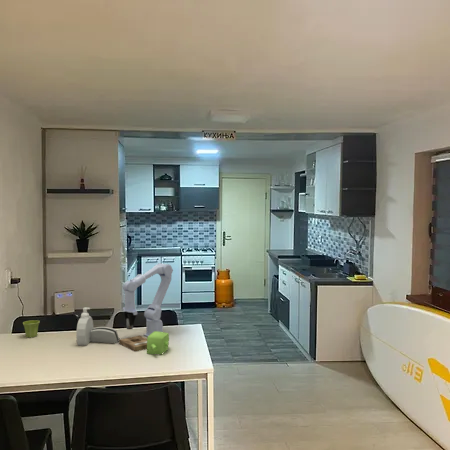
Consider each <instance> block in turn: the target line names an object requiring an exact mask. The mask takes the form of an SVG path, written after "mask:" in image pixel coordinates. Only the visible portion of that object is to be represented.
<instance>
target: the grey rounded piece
mask: <svg viewBox="0 0 450 450" xmlns="http://www.w3.org/2000/svg"><path fill="white" fill-rule="evenodd" d="M90 340H91V341H90V342H92V343H106V344H108V343H109V344H118V343H119V340H120V337H119V334H118V332H117V329H115V328H113V327H108V326H97V327H93V329H92V330H91V332H90Z"/></svg>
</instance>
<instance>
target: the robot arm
mask: <svg viewBox="0 0 450 450" xmlns="http://www.w3.org/2000/svg"><path fill="white" fill-rule="evenodd" d="M173 271H174V270H173V267H172V265H171V264H168V263H167V264H166V263H162V262H159V263H157V264H155V265H154V266H153V267H151V268H150V269H149V270H147V271H145V272H144V274H142V273H140V274H139V273H138V274H137V275H136V276H135V277H133V278H131V279H130V280H126V281H125V282H124V283H123V286H122V289H123V291H124V306H123V307H122V315H123V318H124V321H125V324H126V325H127V318H129V325H130V326H133V327H134V325H135V321H136V318H137V316H138V311H137V309H136V302H135V301H136V296H135V295H136V291H137V288H138V287H140V286H141V285H143V284H145V283H146V280H147V279H148V280H149V279H150V278H151V277H153V276H155V275H156V274H158V275H159V277H160V279H161V281H160V284H159V286H158V288H157V290H156V293H155V295H154V297H153V300H152V302H151V304H149V305H148V306H147V307H146V309H145V310H144V313H143V317H144V318H145V321H146V324H145V325H146V332H145V333H143V335H144V336H145V337H146V336H147V337H148V336H149V335H150V334H151V333H153V332H154V331H158V332H164V327H163V326H164V324H163V321H162V320H161V317H162V308H161V306H162V303H163V301H164V299H165V296H166V293H167V291H168V289H169V286H170V285H171V281H172V274H173Z"/></svg>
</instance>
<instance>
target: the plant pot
mask: <svg viewBox="0 0 450 450" xmlns="http://www.w3.org/2000/svg"><path fill="white" fill-rule="evenodd" d="M40 321H41V320H26V321H23V322H22V324H23V327H24V332H25V338H31V339H32V338H35V337H37V336H38V331H39V325H40Z"/></svg>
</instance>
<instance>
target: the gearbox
mask: <svg viewBox="0 0 450 450" xmlns="http://www.w3.org/2000/svg"><path fill="white" fill-rule="evenodd" d="M146 338H147V349H146V354H148V355H155V354H162V353H163V352H164V353H165V352H167V351H168V350H169V344H170V343H169V341H170V334H169V332H165V331H163V332H158V331H154V332H153V333H151V334H150V335H149V336H147V337H146ZM164 353H163V354H164ZM163 354H162V355H163Z"/></svg>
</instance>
